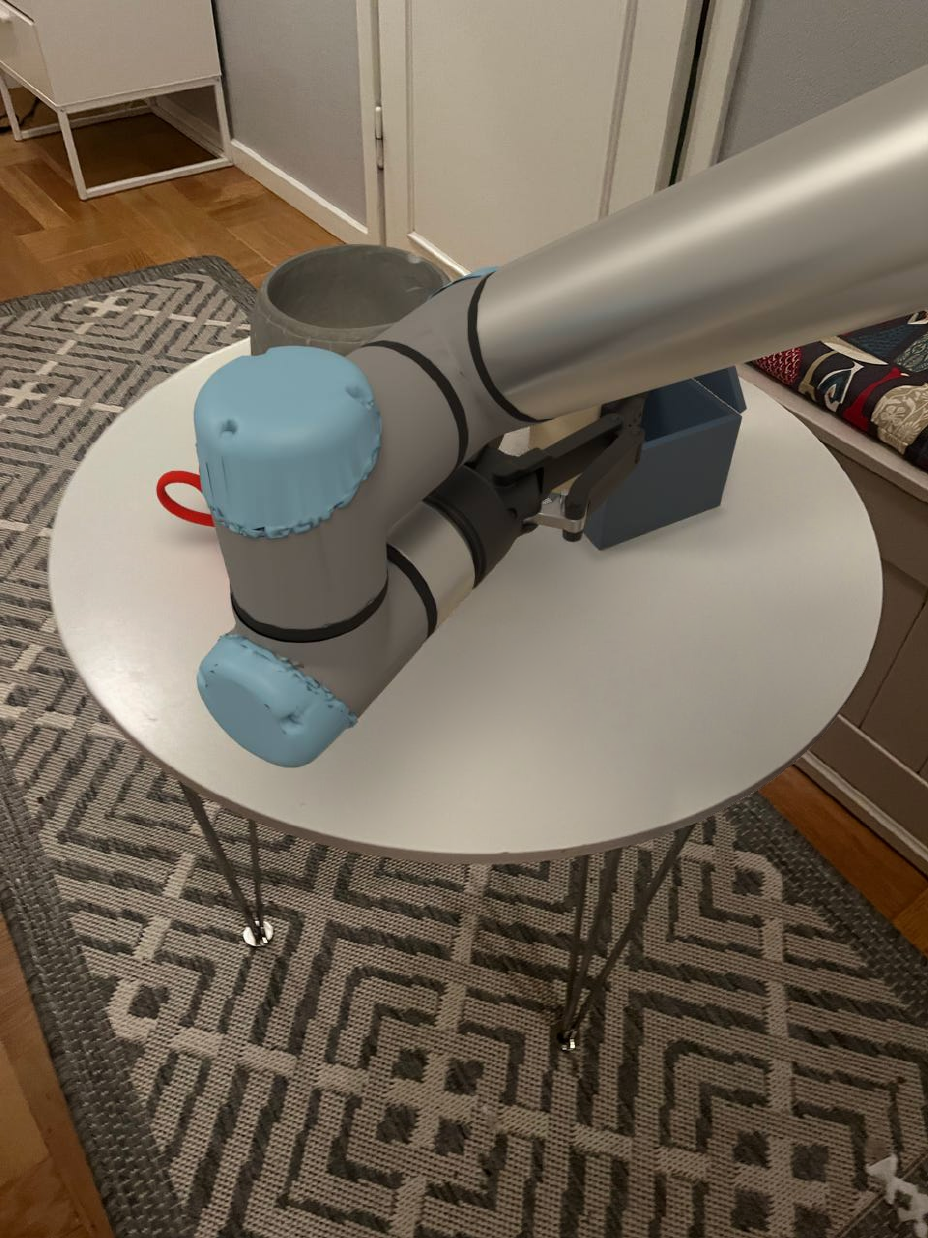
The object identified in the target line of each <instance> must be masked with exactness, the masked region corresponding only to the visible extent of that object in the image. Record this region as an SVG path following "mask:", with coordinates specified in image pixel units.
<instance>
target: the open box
mask: <svg viewBox="0 0 928 1238" xmlns="http://www.w3.org/2000/svg"><path fill="white" fill-rule="evenodd" d="M742 420H743V416H742V414H739V413H738V412H736V411H735V410H734V409H732V408H731V407H730V406H729V405H727V404H726V403H725V402H723V401H722V400H721V399H719V398H718V397H717V396H715V395H714V394H713V393H712V392H710V391H709V390H708V389H706V388H705V387H704V386H702V385H701V384H700V383H698V382H697V381H696V380H694V379H693V378H690V379H687V380H683V381H680V382H677V383H673V384H670V385H666V386H663V387H660V388H656V389H653V390H649V395H648V399H647V400H646V401H645V402H644V405H643V411H642V417H641V422H640V423H639V424H638V425H637V427H640V428H642V429H643V430H644V431H645V435H644V441H643V447H642V453H641V459H640V464H639V466H638V467H637V468H636V469H635V470H634V471H633V472H632V473H631V474H630V475H629V476H628V477H627V478H626V479H625V480H624V481H623V483H622V484H621V485H620V486H619V487H618V488H617V489H616V490H615V491H614V492H613V493H612V494H611V495H610V496H609V497H608V498H607V499H606V500H605V501H604V502H603V504H602V505H601V506H600V507H599V508H598V509H597V510H596V511H595V512H594V513H593V514H592V515H591V516H590V517H589V518H588V519H587V521H586V524H585V528H584V532H583V535H584V536H585V537H586V538H587V539H588V540H589V542H591V543H592V544H593V545H594V546H595V547H596V548H597V549H598V550H599V551H603V550H605V549H607V548H610V547H613V546H615V545H618V544H620V543H624V542H626V541H629V540H632V539H634V538H637V537H640V536H642V535H644V534H647V533H650V532H653V531H655V530H658V529H661V528H664V527H666V526H668V525H671V524H674V523H676V522H679V521H683V520H684V519H688V518H690V517H692V516H695V515H698V514H700V513H704V512H706V511H709V510H711V509H714V508H717V507H718V506H719V507H720V506H721V503H722V500H723V495H724V491H725V487H726V483H727V479H728V475H729V471H730V467H731V464H732V459H733V455H734V452H735V449H736V448H735V447H736V444H737V440H738V436H739V432H740V428H741V425H742ZM528 434H529V436H530V433H528ZM529 436H528V437H529ZM527 449H528V451H529V448H527ZM528 451H527V452H528ZM559 496H560V494H558V493H553V492H551V493H550V495H549V497H548V498H549V500H550V501H551V502H553V501H554V500H555V499H556V498H557V497H559Z"/></svg>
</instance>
